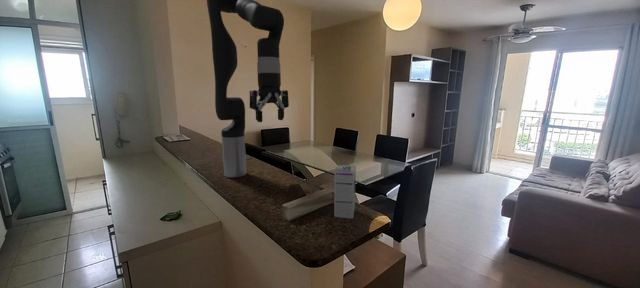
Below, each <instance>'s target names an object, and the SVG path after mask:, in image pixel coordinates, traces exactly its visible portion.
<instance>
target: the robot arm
mask: <svg viewBox="0 0 640 288" xmlns="http://www.w3.org/2000/svg"><path fill="white" fill-rule="evenodd" d="M206 6H207V12H208V19H209V24H210V25H209V26H210V32H211V48H212V49H211V51H212V52H211V53H212V62H213V63H212V64H213V70H214V87H215V88H214V94H215V95H214V102H215V103H214V107H215V108H214V109H215V113H216V116H217V119H218V120H220V121H232V122H231V123H230V124H229V125H228V126H226V127H224V128H222V129H221V132H220V133H221V146H222V160H223V162H222V163H223V174H224V175H223V176H224V177H226V178H231V179H232V178H240V177H243V176H246V175H247V158H246V157H247V156H246V139H245V138H246V137H245V131H246V106H245V102H244V100H243V98H242V97H236V96H235V97H228V96H227V94H228V86H229V83H230V81H231V80H232V78H233V77H232V76H233V75H234V73H235V72H236V69H237V67H238V50H237V45H236V44H235V41H234V40H233V38H232V36H231V35H230V33H229V31H228V30H227V28H226V26H225V24H224V21H223V18H222V17H223V16H222V13H227V14H237V15H238V17H239V18H240V19H243V20H244V21H246V22H247V23H249V24H250V25H251V26H252V27H253V28H255V29H258V30H259V31H267V32H268V36H267V37H263V38H262V37H261V38H259V39H258V40H257V42H256V43H257V44H256V45H257V46H256V47H257V48H256V50H257V62H256V63H257V65H256V66H257V67H256V68H257V71H256V72H257V86H258V90H257V89H250V90H249V108H250V109H251V110H254V111H255V120H256V122H258V123H263V111H262V110H263V108H264V106H266V104H274V105H275V106H276V107H277V120H278V121H284V118H285V109H286V108H289V106H290V105H289V104H290V103H289V102H290V101H289V91H288V89H287V90H286V89H281V87H282V86H281V84H282V83H281V82H282V81H281V80H282V79H281V77H282V76H281V62H280V43H281V39H282V35H283V31H284V25H285V18H284V14H283V13H282V11H281V10H280V9H278V8H275V7H270V6H266V5H264V4H263V5H262V4H261V3H260V2H259V1H255V0H206ZM280 96H281V97H280ZM258 97H259V99H258Z"/></svg>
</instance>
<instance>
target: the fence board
mask: <svg viewBox="0 0 640 288" xmlns="http://www.w3.org/2000/svg"><path fill="white" fill-rule="evenodd" d="M332 203H333V191H332V190H329V189H327V188H325V189H322V190H319V191H315V192H314V193H311V194H308V195H306V196H305V197H302V198H299V199H297V200H294V201H291V200H290V201H289V202H285V203H283V204H282V205H281V206H282V207H281V208H282V209H281V210H282V219H284V220H286V221H288V222H291V221H293V220H295V219H297V218H300V217H302V216H304V215H306V214H308V213H311V212H313V211H316V210H319V209H320V208H323V207H325V206H327V205H330V204H332Z"/></svg>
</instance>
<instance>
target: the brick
mask: <svg viewBox="0 0 640 288" xmlns="http://www.w3.org/2000/svg"><path fill="white" fill-rule="evenodd" d="M288 196H289V198H290V202H291V201H294V200H297V199H299V198H302V197H305V196H307V194H306V192H305V190H304V189H303V187H302V186H301V185H300V183H293V184H292V183H290V184H288Z"/></svg>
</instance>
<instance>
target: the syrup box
mask: <svg viewBox="0 0 640 288" xmlns="http://www.w3.org/2000/svg"><path fill="white" fill-rule="evenodd" d="M333 182H334V187H333V188H334V191H333V193H334V194H333V197H334V200H333V201H334V202H333V203H334V205H333V213H334V217H335V218H339V219H340V218H341V219H351V220H352V219H354V215H355V212H356V211H355V210H356V207H355V206H356V204H355V203H356V166H354V165H345V164H343V165H341V164H340V165H337V166H336V168H335V170H334V181H333Z"/></svg>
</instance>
